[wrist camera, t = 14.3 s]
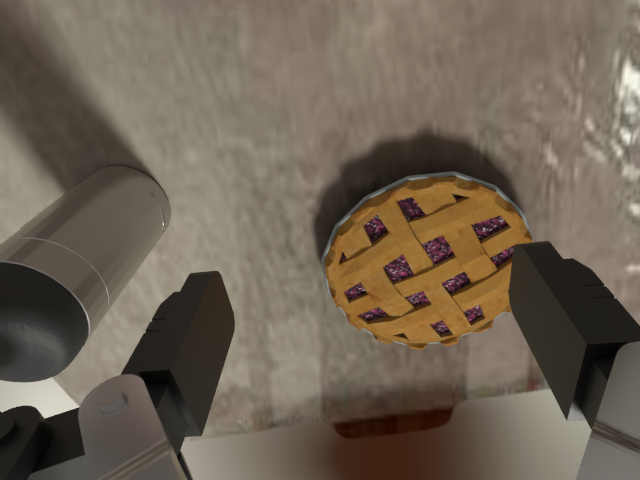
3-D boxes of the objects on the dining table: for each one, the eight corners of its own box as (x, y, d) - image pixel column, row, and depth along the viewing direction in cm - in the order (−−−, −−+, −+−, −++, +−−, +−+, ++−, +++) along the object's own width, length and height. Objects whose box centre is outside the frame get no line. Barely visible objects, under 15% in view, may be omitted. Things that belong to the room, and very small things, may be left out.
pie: (558, 268, 47) (579, 296, 43) (395, 350, 55) (400, 381, 51) (459, 115, 39) (473, 132, 35) (284, 239, 47) (279, 264, 43)
